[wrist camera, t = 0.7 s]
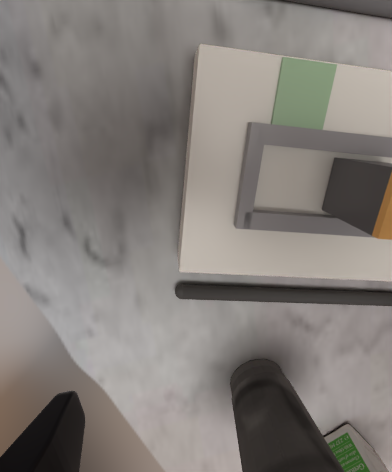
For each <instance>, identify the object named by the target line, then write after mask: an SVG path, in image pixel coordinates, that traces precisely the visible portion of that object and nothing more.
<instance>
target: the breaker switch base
mask: <svg viewBox="0 0 392 472" xmlns="http://www.w3.org/2000/svg"><path fill="white" fill-rule="evenodd" d="M335 157H336V158H346V159H356V160H366V161H376V162H385V163H392V71H388V70H381V69H374V68H367V67H360V66H353V65H346V64H339V63H332V62H325V61H318V60H311V59H304V58H297V57H290V56H283V55H276V54H269V53H262V52H255V51H248V50H241V49H234V48H227V47H220V46H213V45H206V44H199V46H198V49H197V51H196V54H195V58H194V69H193V81H192V93H191V105H190V116H189V128H188V140H187V151H186V163H185V175H184V187H183V198H182V210H181V222H180V233H179V245H178V264H179V272H189V273H212V274H234V275H256V276H278V277H301V278H323V279H345V280H367V281H390V282H392V240H388V239H377V238H375V237H373V236H371V235H369V234H367V233H365V232H364V231H362V230H360V229H358V228H356V227H354V226H352V225H350V224H348V223H346V222H344V221H342V220H340V219H338V218H336V217H334V216H333V215H331V214H329V213H327V212H325V211H323V210H322V206H323V202H324V198H325V194H326V190H327V186H328V182H329V178H330V174H331V170H332V166H333V162H334V158H335Z"/></svg>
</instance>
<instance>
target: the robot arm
mask: <svg viewBox="0 0 392 472" xmlns="http://www.w3.org/2000/svg"><path fill="white" fill-rule="evenodd" d="M84 428H85V415H84V411H83V409H82V406H81V403H80V400H79V397H78V395H77V393H76V392H75V391H68V392H63V393H59V394H57V395H56V396H55V397H54V398H53V399H52V400H51V401H50V402H49V404H48V405H47V406H46V407H45V408H44V409H43V410H42V411H41V413H40V414H39V415H38V416H37V417H36V418H35V419H34V420H33V421H32V423H31V424H30V425H29V426H28V427H27V428H26V429H25V430H24V431H23V433H22V434H21V435H20V436H19V437H18V438H17V439H16V440H15V441H14V443H13V444H12V445H11V446H10V447H9V448H8V449H7V450H6V451H5V453H4V454H3V455H2V456H1V457H0V472H79V468H80V459H81V452H82V444H83V435H84Z"/></svg>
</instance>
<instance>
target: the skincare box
mask: <svg viewBox="0 0 392 472" xmlns="http://www.w3.org/2000/svg"><path fill="white" fill-rule="evenodd" d="M324 439H325V440H326V442H327V444H328V445H329V447H330V448H331V450H332V452H333V453H334V455H335V457H336V458H337V460H338V462H339V463H340V465H341V466H342V468H343V470H344V471H345V472H389V471H388V469H387V468H386V466H385V465H384V463H383V462H382V460H381V458H380V457H379V455H378V454H377V453H376V452H375V450H374V449H373V448H372V447H371V446H370V445H369V444H368V443H367V442H366V441H365V440H364V439H363V438H362V437H361V436H360V435H359V434H358V433H357V431H356V430H355V429H354V428H353V427H352V426H351V425H349V424H346V425H344V426H342V427H341V428H339V429H338V430H336V431H335V432H333V433H331V434H329V435H328V436H326V437H324Z"/></svg>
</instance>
